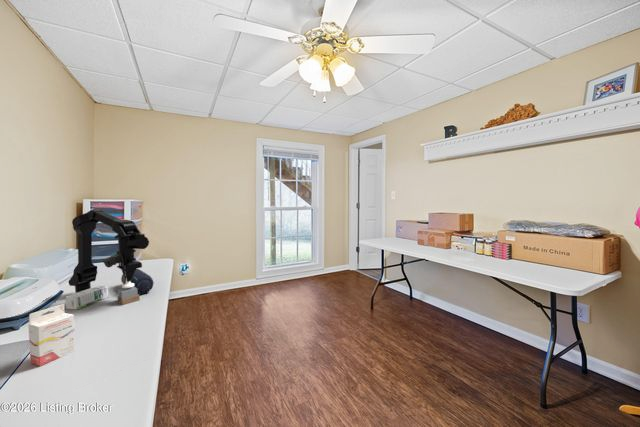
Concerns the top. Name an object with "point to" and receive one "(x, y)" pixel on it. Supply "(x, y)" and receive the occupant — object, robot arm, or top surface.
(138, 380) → the top surface
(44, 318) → the ink cartridge box
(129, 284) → the chess piece
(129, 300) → the walnut base block
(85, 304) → the syrup box
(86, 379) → the top surface
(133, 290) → the slate top block
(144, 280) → the portable speaker
